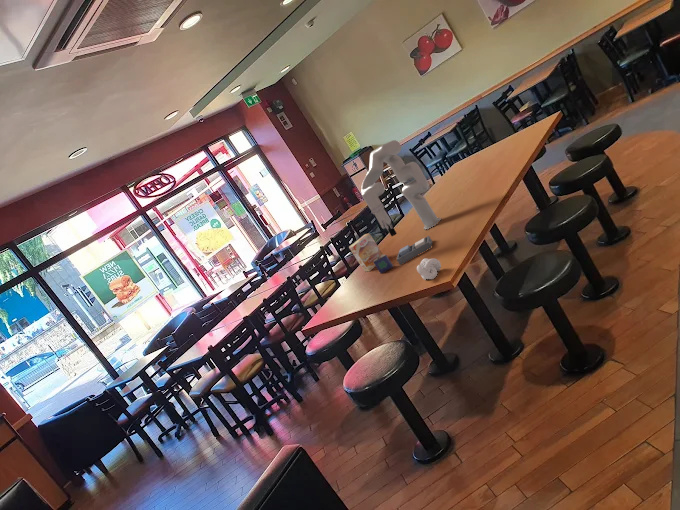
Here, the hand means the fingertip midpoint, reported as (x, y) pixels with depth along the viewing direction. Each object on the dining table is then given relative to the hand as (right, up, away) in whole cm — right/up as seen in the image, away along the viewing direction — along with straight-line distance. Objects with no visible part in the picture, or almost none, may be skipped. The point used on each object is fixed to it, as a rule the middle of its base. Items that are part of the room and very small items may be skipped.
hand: (394, 234), depth 299 cm
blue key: (+7, -10, +3) cm, 13 cm away
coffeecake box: (-9, -18, +33) cm, 39 cm away
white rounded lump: (+14, -23, -48) cm, 55 cm away
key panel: (+13, -11, +2) cm, 17 cm away
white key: (+16, -7, 0) cm, 17 cm away
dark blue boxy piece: (-3, -21, +7) cm, 22 cm away
